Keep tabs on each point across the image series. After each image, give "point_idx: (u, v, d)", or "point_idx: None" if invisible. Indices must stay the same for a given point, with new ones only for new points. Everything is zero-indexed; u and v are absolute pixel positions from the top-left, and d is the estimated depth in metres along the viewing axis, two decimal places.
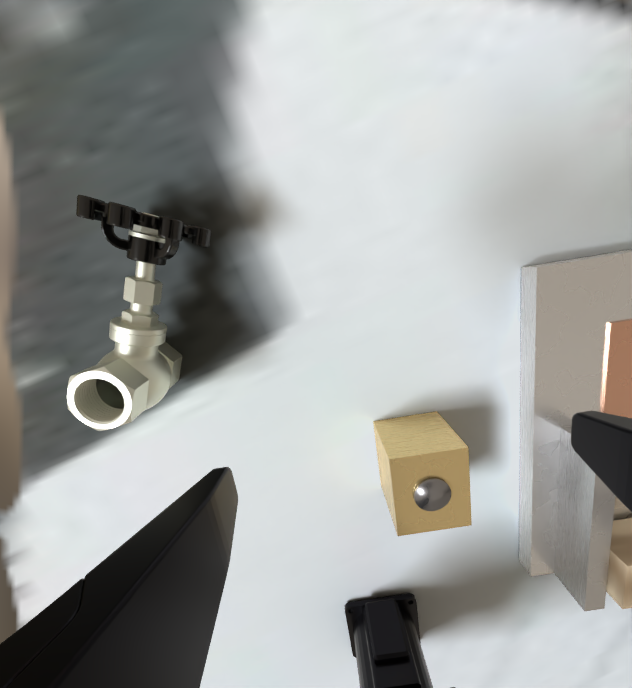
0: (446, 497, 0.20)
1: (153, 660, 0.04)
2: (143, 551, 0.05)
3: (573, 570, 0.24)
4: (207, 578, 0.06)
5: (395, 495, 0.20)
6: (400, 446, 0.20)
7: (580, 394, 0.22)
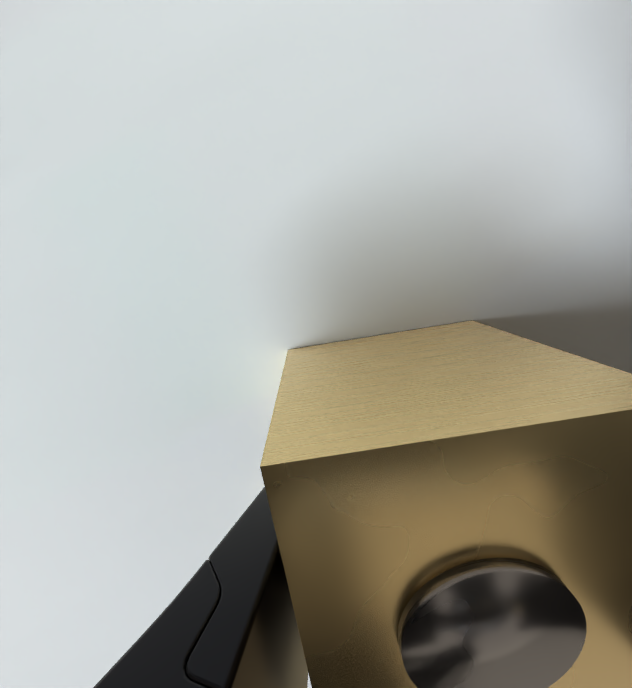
0: (558, 650, 0.04)
1: (284, 641, 0.04)
2: (259, 534, 0.05)
3: None
4: None
5: (310, 639, 0.04)
6: (339, 408, 0.05)
7: None
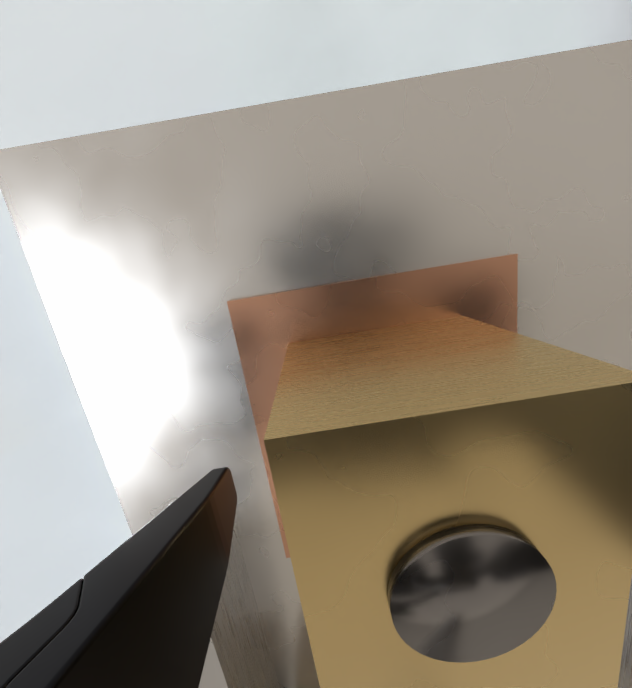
0: (531, 608, 0.04)
1: (152, 660, 0.04)
2: (142, 551, 0.05)
3: None
4: (206, 578, 0.06)
5: (309, 598, 0.05)
6: (334, 393, 0.05)
7: (214, 465, 0.10)
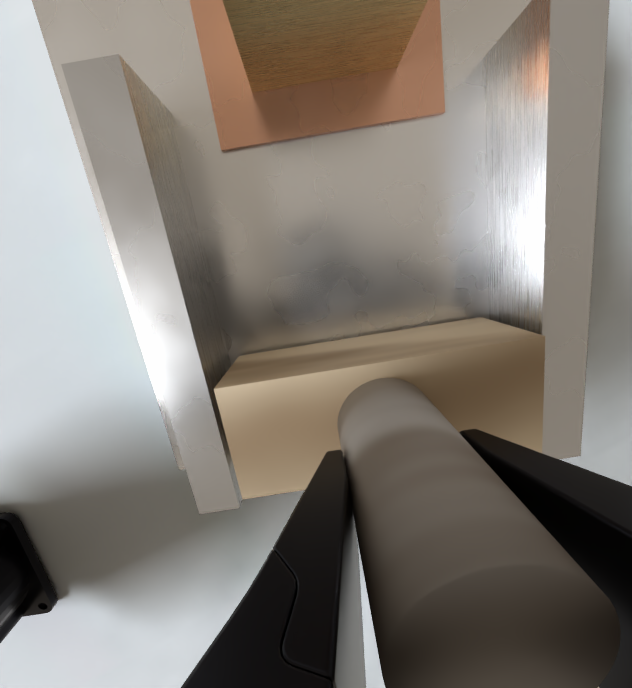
0: None
1: (352, 631, 0.04)
2: (319, 524, 0.05)
3: None
4: (355, 556, 0.06)
5: None
6: None
7: (146, 27, 0.10)
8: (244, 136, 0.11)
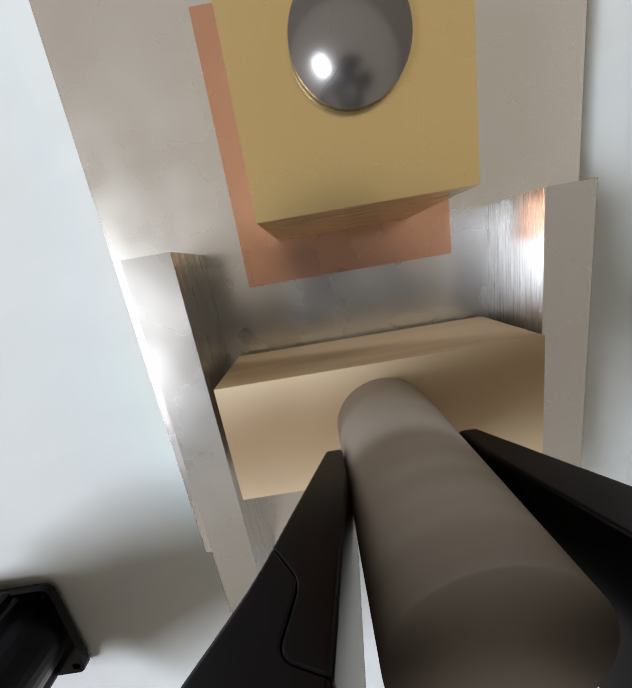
0: (395, 43, 0.06)
1: (352, 631, 0.04)
2: (319, 524, 0.05)
3: None
4: (355, 556, 0.06)
5: (228, 47, 0.06)
6: None
7: (183, 187, 0.11)
8: (270, 275, 0.12)
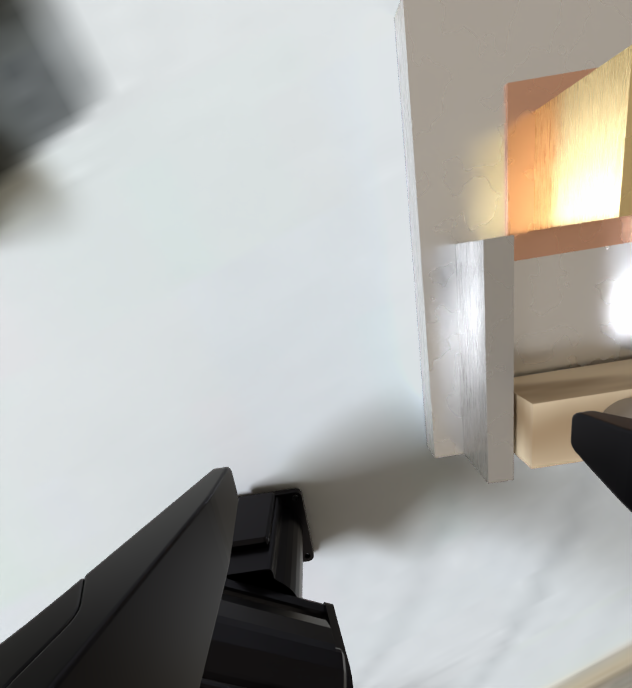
0: None
1: (153, 660, 0.04)
2: (143, 551, 0.05)
3: (477, 435, 0.19)
4: (207, 578, 0.06)
5: (629, 127, 0.12)
6: None
7: (477, 194, 0.17)
8: (523, 254, 0.18)
